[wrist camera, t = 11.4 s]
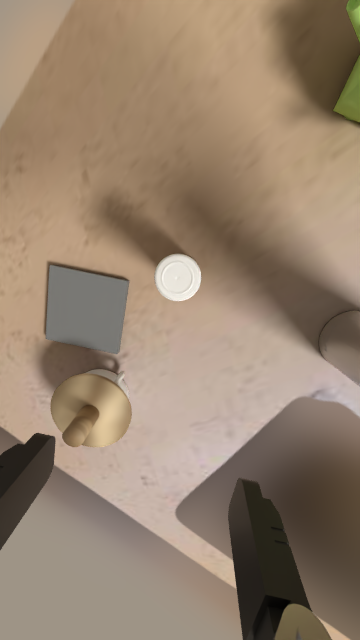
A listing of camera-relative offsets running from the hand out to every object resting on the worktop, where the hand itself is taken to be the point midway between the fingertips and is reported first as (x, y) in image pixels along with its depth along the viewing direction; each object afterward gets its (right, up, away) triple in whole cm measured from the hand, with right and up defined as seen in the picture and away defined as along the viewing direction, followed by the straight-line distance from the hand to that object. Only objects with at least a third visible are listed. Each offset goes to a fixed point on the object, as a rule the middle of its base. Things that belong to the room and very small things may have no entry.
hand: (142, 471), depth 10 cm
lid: (-12, -7, +26) cm, 29 cm away
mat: (-13, +8, +28) cm, 32 cm away
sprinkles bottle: (+2, +14, +26) cm, 29 cm away
